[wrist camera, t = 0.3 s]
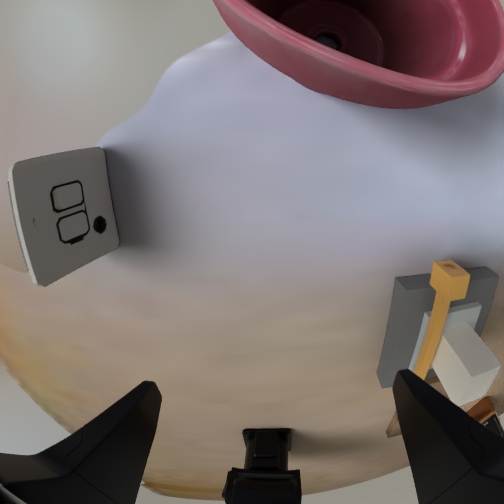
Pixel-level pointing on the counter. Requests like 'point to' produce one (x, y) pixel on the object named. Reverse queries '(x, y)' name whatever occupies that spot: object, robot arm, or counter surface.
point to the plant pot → (377, 46)
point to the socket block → (412, 312)
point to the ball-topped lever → (441, 307)
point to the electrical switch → (62, 212)
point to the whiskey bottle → (487, 416)
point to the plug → (460, 355)
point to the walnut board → (394, 425)
